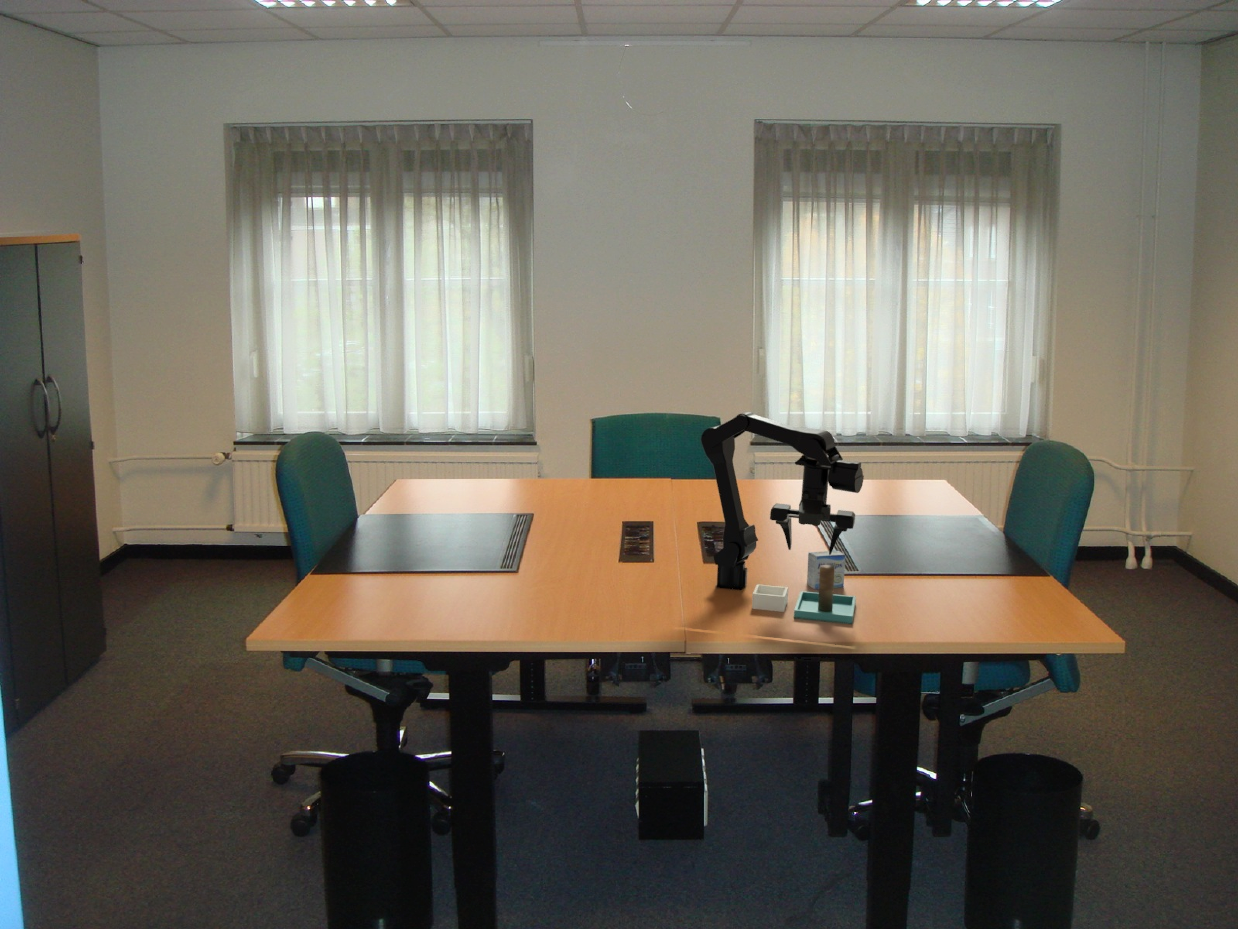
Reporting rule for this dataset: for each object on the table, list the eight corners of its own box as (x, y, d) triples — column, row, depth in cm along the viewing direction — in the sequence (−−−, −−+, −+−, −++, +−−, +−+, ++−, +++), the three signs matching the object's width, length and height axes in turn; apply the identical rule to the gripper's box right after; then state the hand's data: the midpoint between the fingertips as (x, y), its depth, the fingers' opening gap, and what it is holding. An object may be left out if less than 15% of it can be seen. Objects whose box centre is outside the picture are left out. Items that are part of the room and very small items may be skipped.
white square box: (751, 610, 240) (752, 593, 239) (756, 600, 247) (757, 584, 246) (783, 613, 238) (784, 596, 237) (787, 603, 245) (788, 587, 244)
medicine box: (814, 591, 255) (816, 556, 253) (806, 585, 259) (808, 551, 257) (843, 589, 257) (846, 554, 255) (835, 583, 261) (837, 549, 259)
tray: (793, 620, 234) (794, 610, 234) (800, 600, 248) (800, 591, 247) (852, 626, 231) (852, 616, 231) (855, 606, 244) (855, 596, 244)
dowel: (817, 611, 238) (819, 568, 236) (818, 606, 241) (820, 564, 239) (831, 612, 237) (834, 569, 235) (832, 607, 240) (834, 565, 238)
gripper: (768, 489, 236) (764, 556, 239) (854, 498, 231) (848, 566, 234) (776, 479, 246) (771, 543, 250) (857, 487, 241) (852, 553, 245)
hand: (809, 551), depth 244 cm, fingers open, 9 cm apart
